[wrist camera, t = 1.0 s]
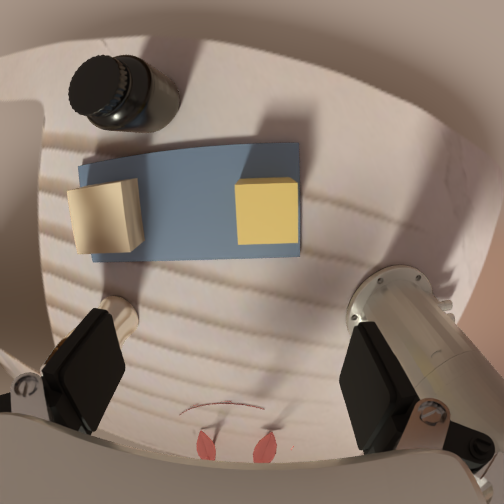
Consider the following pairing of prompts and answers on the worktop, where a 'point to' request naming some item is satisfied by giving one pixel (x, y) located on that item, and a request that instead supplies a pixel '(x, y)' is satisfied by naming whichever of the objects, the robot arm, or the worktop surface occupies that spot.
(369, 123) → the worktop surface
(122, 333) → the beer glass
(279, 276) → the worktop surface
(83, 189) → the beech base block
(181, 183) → the board
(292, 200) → the mustard block
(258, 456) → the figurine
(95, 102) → the supplement bottle
